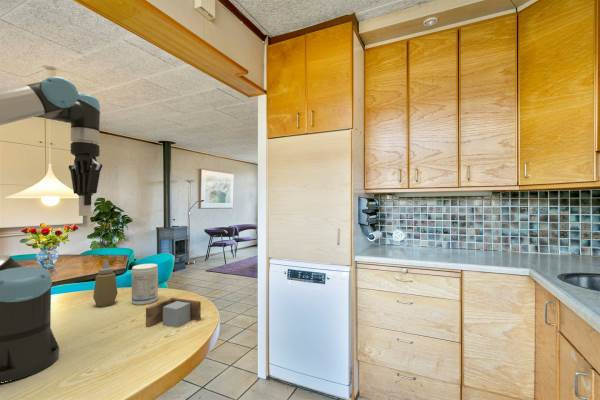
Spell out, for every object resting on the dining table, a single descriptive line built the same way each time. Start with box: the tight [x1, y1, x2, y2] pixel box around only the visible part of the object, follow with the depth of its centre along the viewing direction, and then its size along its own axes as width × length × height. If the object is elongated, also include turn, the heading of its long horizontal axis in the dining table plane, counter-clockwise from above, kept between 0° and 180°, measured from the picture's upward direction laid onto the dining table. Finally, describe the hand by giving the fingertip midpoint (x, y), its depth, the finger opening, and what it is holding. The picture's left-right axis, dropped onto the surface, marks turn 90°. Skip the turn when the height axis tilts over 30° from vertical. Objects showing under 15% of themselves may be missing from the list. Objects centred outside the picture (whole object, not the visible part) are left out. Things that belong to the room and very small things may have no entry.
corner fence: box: [145, 297, 202, 328], centre depth 94 cm, size 11×13×6 cm
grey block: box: [162, 301, 191, 328], centre depth 94 cm, size 6×6×6 cm
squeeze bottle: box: [93, 258, 118, 307], centre depth 113 cm, size 8×8×18 cm
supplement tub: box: [131, 263, 159, 306], centre depth 116 cm, size 10×10×15 cm
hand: (84, 215), depth 91 cm, fingers closed
